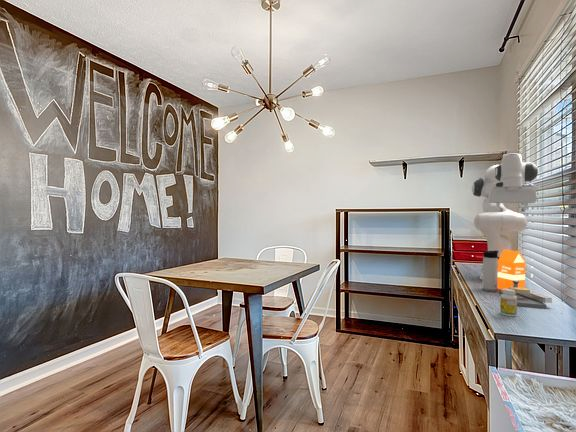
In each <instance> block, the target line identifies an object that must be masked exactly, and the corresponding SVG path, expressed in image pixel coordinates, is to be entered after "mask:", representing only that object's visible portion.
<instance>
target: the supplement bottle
mask: <svg viewBox="0 0 576 432" xmlns="http://www.w3.org/2000/svg"><path fill="white" fill-rule="evenodd" d="M503 293H504V294H500V305H499V306H500V310H499V311H500V314H501V315H503V316H506V317H516V316H517V315H518V306H517V297H516V296H515V295H514V294H515V290H512V289H503Z"/></svg>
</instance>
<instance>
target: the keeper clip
mask: <svg viewBox="0 0 576 432" xmlns="http://www.w3.org/2000/svg"><path fill="white" fill-rule="evenodd" d="M509 289H512V290H515V294H514V295H515V296H516V292H528V293H530V291H531V290H530V289H529V288H527V287H525V288H517V287H509Z"/></svg>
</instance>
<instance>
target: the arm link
mask: <svg viewBox="0 0 576 432" xmlns="http://www.w3.org/2000/svg"><path fill="white" fill-rule="evenodd" d="M512 282H513V286H511V287H517V288H520V287H518V283H519V281H517V280H512ZM516 293H518V294H521V295H523V296H526V297H529V298H532V299H535V300H538V301H541V302H543V303H544V304H549V303H551V304H552V303H553V297H550V296H547V295H544V294H541V293H537V292H534V291H531V290H530V293H528V292H516Z"/></svg>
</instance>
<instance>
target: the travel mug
mask: <svg viewBox="0 0 576 432" xmlns="http://www.w3.org/2000/svg"><path fill="white" fill-rule="evenodd" d="M498 252H499V251H488V250H485V251H483V253H482V255H483V257H482V267H483V271H482V274H483V280H482V290H483V291H485V292H492V293H493V292H494V293H495V292H497V291H498V282H497V268H498Z"/></svg>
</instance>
